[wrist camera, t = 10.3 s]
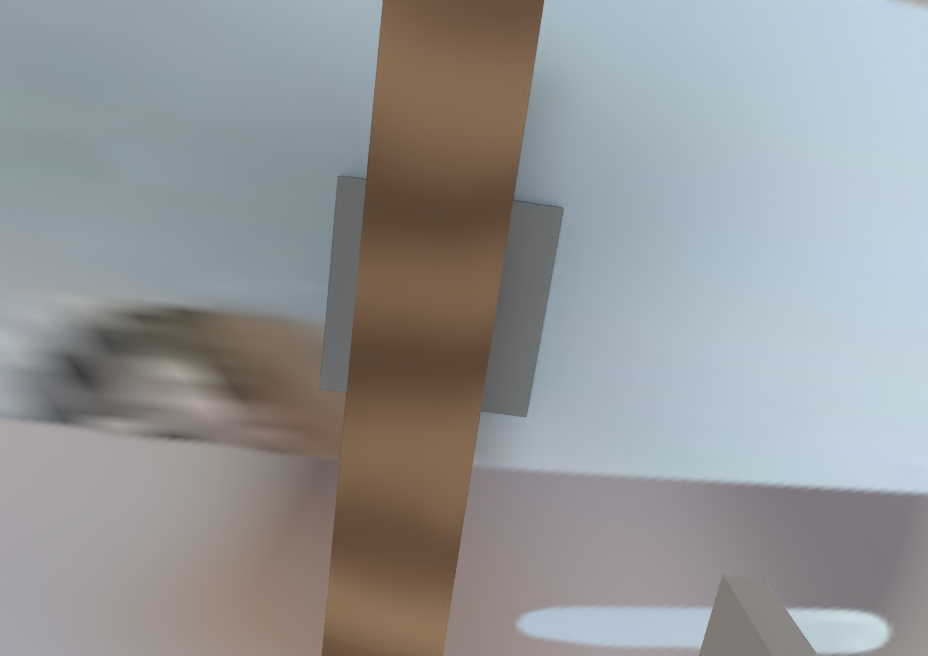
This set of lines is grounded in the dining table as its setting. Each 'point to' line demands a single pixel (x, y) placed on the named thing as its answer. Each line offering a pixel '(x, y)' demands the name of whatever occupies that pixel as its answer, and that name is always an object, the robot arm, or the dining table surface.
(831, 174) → the dining table surface
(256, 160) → the dining table surface
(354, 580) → the bar
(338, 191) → the fulcrum
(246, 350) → the dining table surface
